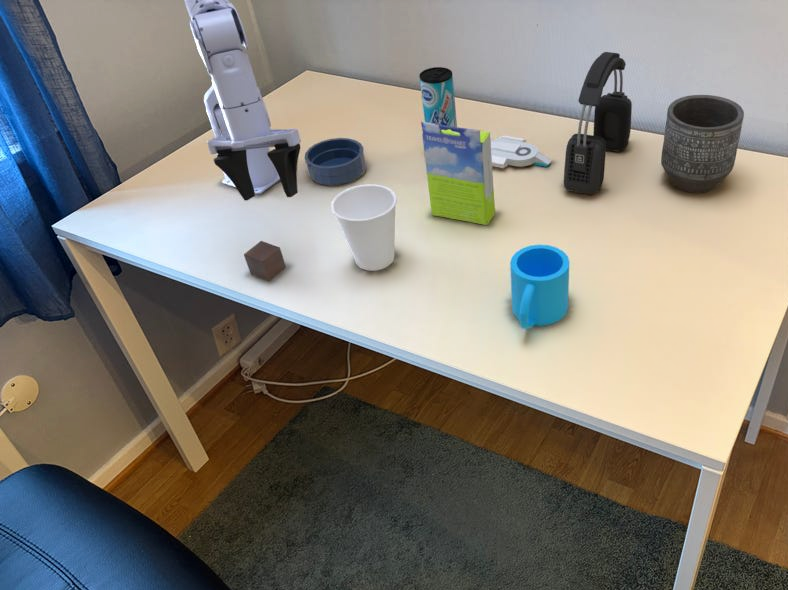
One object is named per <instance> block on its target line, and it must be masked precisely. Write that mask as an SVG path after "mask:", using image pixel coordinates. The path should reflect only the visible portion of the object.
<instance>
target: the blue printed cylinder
mask: <svg viewBox="0 0 788 590" xmlns="http://www.w3.org/2000/svg"><path fill="white" fill-rule="evenodd" d="M418 77H419V85H420V94H421V103H422V109H423V110H422V111H423V118H424V122H427V123H433V124H439V125H445V126H452V127H458V122H457V121H458V120H457V110H456V100H455V99H456V98H455V87H454V76H453V71H452V70H451V69H450V68H447V67H443V66H435V67H429V68H426V69H423V70H422V71H421V72H420V73H419V76H418Z"/></svg>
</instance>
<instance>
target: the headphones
mask: <svg viewBox="0 0 788 590" xmlns="http://www.w3.org/2000/svg"><path fill="white" fill-rule="evenodd" d="M620 56H621V55H620V53H618V52H611V51H604V52H602V53H601V54H600V55H598V57H596V59H595V60H594V61H593V62H592V64H591V65H590V68H589V69H588V71H587V73H586V76H585V79H584V81H583V84H582V87H581V90H580V93H579V97H578V100H577V102H578V103H579V104H580V105H581V106H582V108H581V112H580V117H579V123H578V130H577V133H574V134H573V135H571V137H570V138H569V139H568V140H567V144H566V148H565V157H564V168H563V169H564V170H563V186H564V189H565V190H567V191H570V192H574V193H579V194H584V195H590V196H591V195H595V194H597V193H598V192H599V191H600V190H601V189H602V187H603V183H604V179H605V169H606V168H605V166H606V165H605V164H606V155H607V154H606V152H607V151H611V152H612V151H613V152H622V151H624V150H626V148H627V147H628V144H629V140H630V136H631V131H632V130H631V129H632V111H633V109H632V108H633V104H632V100H631V99H630V98H628V95H626V94H625V92H623V83H624V81H623V77H624V76H623V71H625V69H626V61H625V60H624V59H623V57H620ZM617 71H619V91H618V73H617ZM612 73H613V76H614V77H613V78H614V79H613V81H614V88H613V92H612V93H611V92H608V93H607V94H604V95H603V91H604V88H605V86H606V85H607V82H608V80H609V78H610V76H611V74H612ZM587 106H588V109H587V114H586V118H585V124H584V131H583V133H582V126H583V120H584V116H585V112H586V108H587ZM593 107H594V114H593V115H594V116H593V135H592V134H588V128H589V123H590V117H591V112H592V109H593Z"/></svg>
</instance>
